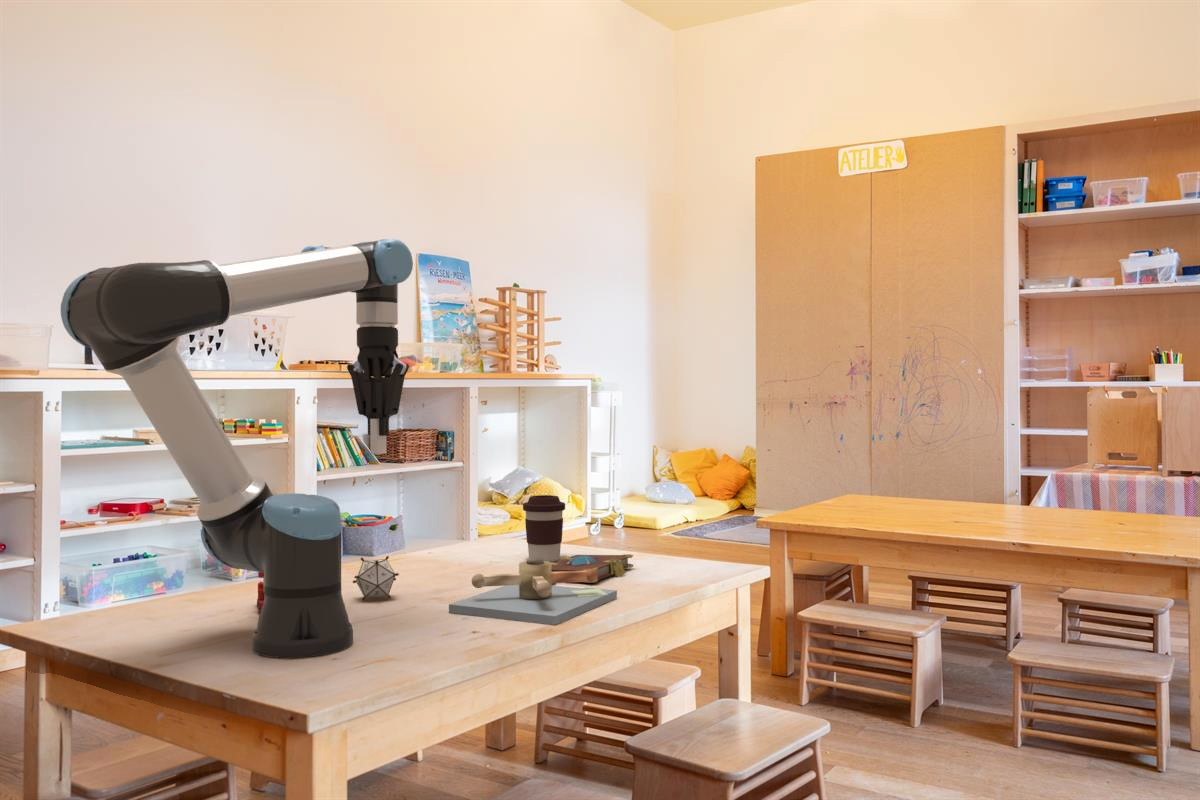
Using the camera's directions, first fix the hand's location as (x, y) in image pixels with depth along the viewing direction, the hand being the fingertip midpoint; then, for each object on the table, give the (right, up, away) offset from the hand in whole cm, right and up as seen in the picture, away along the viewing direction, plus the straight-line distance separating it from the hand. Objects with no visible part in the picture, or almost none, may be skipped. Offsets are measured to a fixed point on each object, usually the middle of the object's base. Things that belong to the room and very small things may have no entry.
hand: (378, 453), depth 184 cm
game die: (-2, -29, +7) cm, 30 cm away
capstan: (+29, -27, 0) cm, 40 cm away
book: (+37, -29, +29) cm, 55 cm away
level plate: (+29, -28, 0) cm, 41 cm away
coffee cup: (+28, -28, +49) cm, 63 cm away
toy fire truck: (-20, -29, -3) cm, 35 cm away
